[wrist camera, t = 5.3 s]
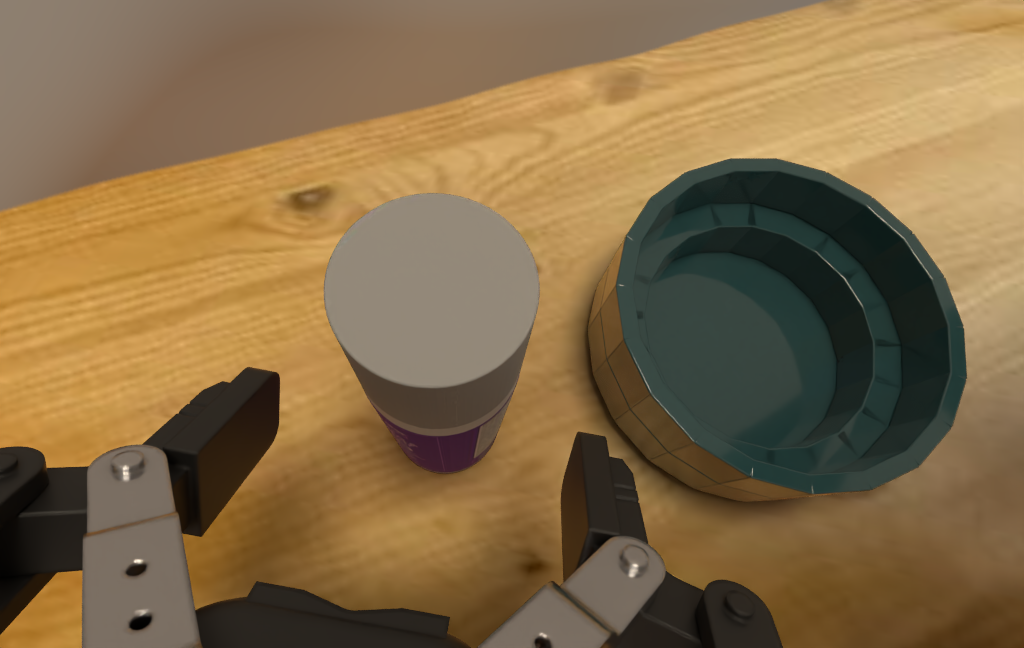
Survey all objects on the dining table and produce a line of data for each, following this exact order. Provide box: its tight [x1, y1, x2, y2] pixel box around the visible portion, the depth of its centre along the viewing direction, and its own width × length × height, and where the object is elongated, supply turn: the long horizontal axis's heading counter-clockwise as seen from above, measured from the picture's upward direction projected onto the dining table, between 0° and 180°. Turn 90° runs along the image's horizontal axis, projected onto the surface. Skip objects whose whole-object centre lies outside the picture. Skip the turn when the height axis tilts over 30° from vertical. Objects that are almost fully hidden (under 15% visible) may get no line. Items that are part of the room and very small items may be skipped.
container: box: [324, 193, 540, 473], centre depth 18 cm, size 5×5×15 cm
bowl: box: [588, 159, 967, 502], centre depth 25 cm, size 14×14×6 cm
